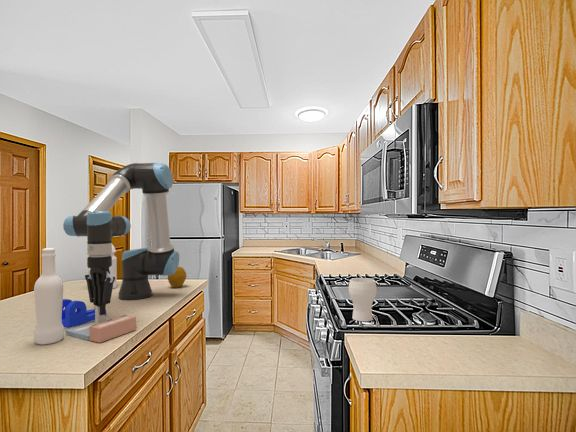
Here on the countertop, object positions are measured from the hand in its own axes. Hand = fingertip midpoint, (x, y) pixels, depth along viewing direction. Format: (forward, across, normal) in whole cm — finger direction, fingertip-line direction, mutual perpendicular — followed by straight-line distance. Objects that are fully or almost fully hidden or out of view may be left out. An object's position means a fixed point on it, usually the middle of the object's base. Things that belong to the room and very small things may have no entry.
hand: (100, 323), depth 125 cm
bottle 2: (+3, -63, +47) cm, 79 cm away
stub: (+3, +7, 0) cm, 7 cm away
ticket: (+3, -2, 0) cm, 4 cm away
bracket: (+3, -19, +7) cm, 21 cm away
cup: (+3, +77, +56) cm, 95 cm away
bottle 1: (+3, -7, -13) cm, 15 cm away
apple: (+3, -30, +67) cm, 73 cm away
